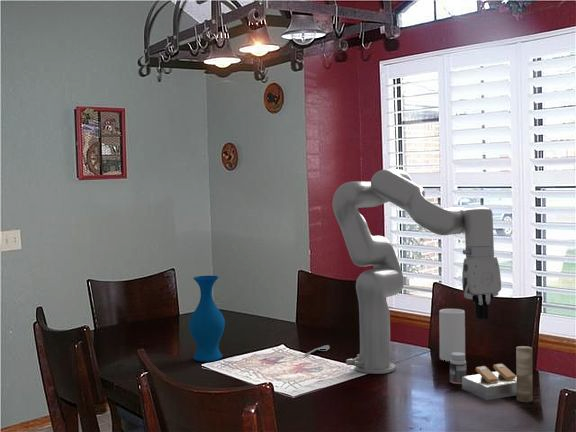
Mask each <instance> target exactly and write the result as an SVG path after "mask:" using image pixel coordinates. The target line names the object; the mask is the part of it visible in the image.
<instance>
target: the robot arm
mask: <svg viewBox="0 0 576 432" xmlns="http://www.w3.org/2000/svg"><path fill="white" fill-rule="evenodd" d="M425 194H426V193H425V189H424V188H423V187H422V186H420V185H418V184H417V183H415V182H414V181H413V179H412V177H411V176H410V175H409V174H408V172H406V171H404V170H403V169H387V168H386V169H380V170H378V171H376V172H375V173H374V174H373V175H372V177H371V179H370V181H369V180H367V181H365V180H363V181H359V180H357V181H347V182H344V183H342V184H341V185H340V186H339V187H338V188H337V189H336V190H335V192H334V194H333V198H332V210H333V213H334V216H335V217H334V218H335V219H336V221H337V224H338V226H339V227H340V230H341V233H342V237H343V239H344V242H345V246H346V248H347V251H348V255H349V257H350V259H351V262H352V263H353V265H355V266H356V267H360V268H362V267H363V268H364V267H371V266H372V269H367V270H365V271H362V272H361V273H360V274H359V276H358V277H357V278H356V282H355V290H356V295H357V300H358V301H357V302H358V310H359V311H358V312H359V313H358V314H359V318H358V319H359V353H358V354H356V357H354V358H346V360H345V364H346V365H347V366H354V367H355V370H356V371H358V372H360V373H364V374H371V375H374V374H375V375H381V374H382V375H383V374H390V373H391V372H392V373H393V372H394V371H396V370H397V369H396V364H395V363H393V362H391V316H390V315H391V314H390V308H389V304H388V301H387V300H386V299H387V298H389V297H393V296H396V295H398V294H400V293H401V291H402V290H403V288H404V285H405V284H404V283H405V278H404V273H403V272H402V269H401V266H400V263H399V261H398V258H397V253H396V251H395V249H394V246H393V245H392V243H391V241H389V240H388V239H387V238H386V237H385V236H382V235H372V233H371V231H370V229H369V224H368V222H367V221H366V219H365V217H364V216H363V215H362V214H361V213H360V211H359V208H360V209H361V208H375V207H378V206H381V205H384V204H386V203H391V204H393V205H395V206H396V207H399V208H400V209H401V210H403V211H406V213H407V214H408V216H409V217H410V218H411V219H412V220H413V221H414V223H416V224H417V225H419V226H421V227H423V228H424V229H426V230H427V231H429V232H431V233H433V234H435V235H439V236H450V235H461V234H464V240H465V249H463V250H462V254H463V255H465V257H464V258H463V263H462V272H461V274H462V277H461V278H462V279H461V284H462V285H461V286H462V291H463V292H464V293H463V298H464V299H467V300H471V301H472V302H473V304H475V317H476V319H480V320H487V319H488V320H489V305H490V303H491V301H492V300H493V298H495V297H497V296H499V293H500V292H501V291H502V279H501V278H502V277H501V270H500V265H499V260H498V257H497V256H495V248H494V246H495V244H494V241H495V240H494V220H493V219H494V218H493V216H494V215H493V211H492V209H491V208H488V207H472V208H466V207H447V208H446V207H445V208H443V207H441V206H439V205H437V204H435V203H433V202H431V201H429V200H428V199H426V198H425Z"/></svg>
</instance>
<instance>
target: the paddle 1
mask: <svg viewBox="0 0 576 432" xmlns="http://www.w3.org/2000/svg"><path fill="white" fill-rule="evenodd" d="M475 371H476V372H477V374H480V375H481V376H482V377H483V378H484V379H485V380H486V381H487V382H488V383H490V382H497V381H498V378H497V377H496V376H495V375H494V374H493V373H492V372H493V371H491V370H490V369H489V367H487V366H486V365H481V366H476V367H475Z"/></svg>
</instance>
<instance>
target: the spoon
mask: <svg viewBox="0 0 576 432" xmlns="http://www.w3.org/2000/svg"><path fill="white" fill-rule="evenodd" d="M330 347H331V346H330V345H329V344H327V345H323V346H320V347H317V348H314V349H312V350H311V351H309V352H306V353H304V354H303V356H306V357H307V356H308V355H310V354H312V353H314V352H316V351H319V352H326V351H328V350H329V349H330ZM320 349H326V350H320Z"/></svg>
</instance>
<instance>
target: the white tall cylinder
mask: <svg viewBox="0 0 576 432" xmlns="http://www.w3.org/2000/svg"><path fill="white" fill-rule="evenodd" d="M438 311H439V314H438V321H439V323H438V325H439V327H438V329H439V330H438V331H439V360H441V361H444V360H445V361H444V362H449V361H450V360H451V353H454V352H461V353H465V354H466V312H465V309H461V308H442V309H440V310H438ZM464 360H466V358H465V359H464Z"/></svg>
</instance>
